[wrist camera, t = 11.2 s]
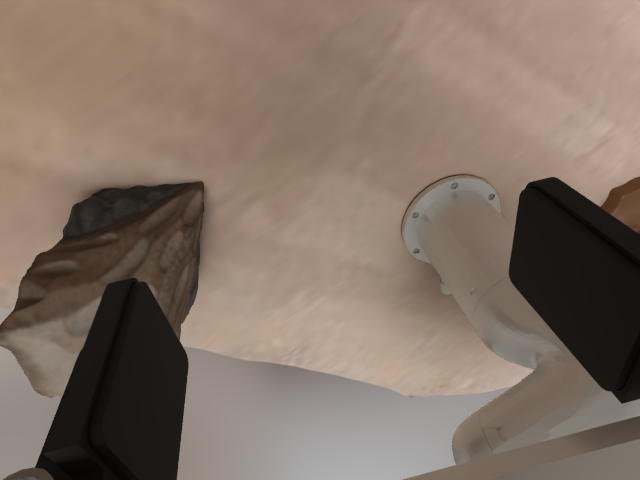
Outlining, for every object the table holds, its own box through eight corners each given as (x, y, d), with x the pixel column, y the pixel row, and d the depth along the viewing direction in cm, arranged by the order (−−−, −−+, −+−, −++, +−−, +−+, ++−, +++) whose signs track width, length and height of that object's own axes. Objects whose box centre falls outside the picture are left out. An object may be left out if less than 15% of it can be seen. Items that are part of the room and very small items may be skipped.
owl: (198, 275, 49) (183, 430, 33) (82, 266, 46) (1, 435, 30) (209, 182, 43) (195, 319, 27) (74, 163, 39) (-36, 308, 23)
